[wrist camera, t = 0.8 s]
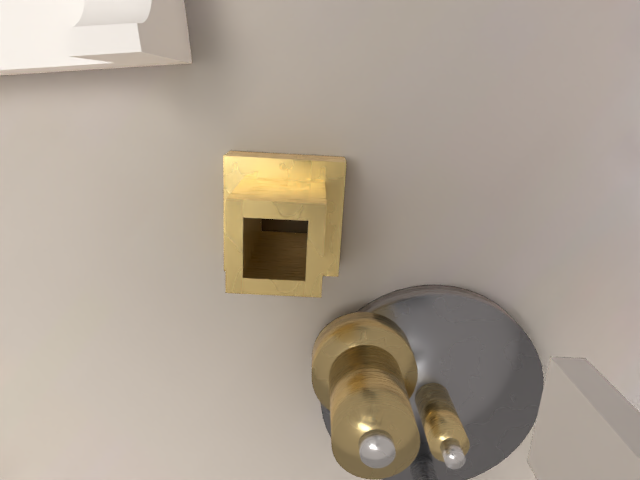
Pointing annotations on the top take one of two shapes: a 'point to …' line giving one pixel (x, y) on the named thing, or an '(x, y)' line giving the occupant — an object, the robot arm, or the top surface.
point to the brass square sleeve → (281, 203)
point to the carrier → (426, 385)
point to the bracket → (91, 35)
